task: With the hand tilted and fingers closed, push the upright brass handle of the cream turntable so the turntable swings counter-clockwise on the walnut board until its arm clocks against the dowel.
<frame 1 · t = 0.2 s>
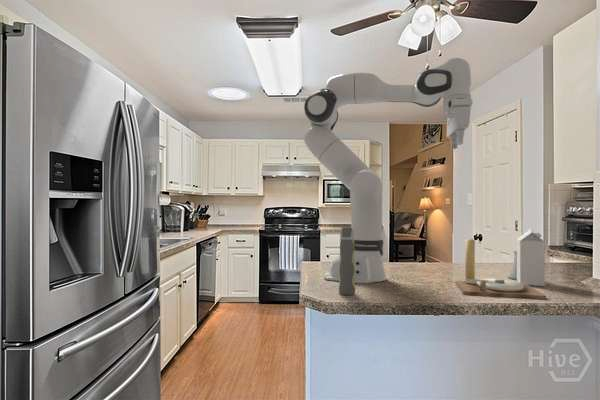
hand: (456, 146, 129), 47 cm above the countertop, tool pointing down, fingers open, 8 cm apart
flask: (518, 279, 137), on the countertop
base board: (496, 290, 117), on the countertop
grey upright post: (346, 294, 112), on the countertop
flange: (493, 263, 119), point 8 cm above the countertop, hinge at -30.0°
milk carton: (530, 284, 128), on the countertop
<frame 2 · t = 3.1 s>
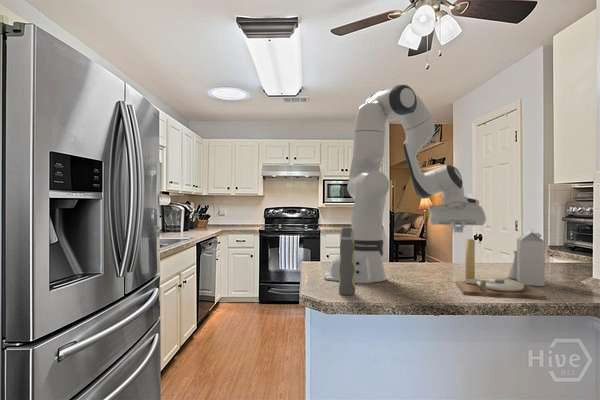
hand: (458, 231, 142), 17 cm above the countertop, tool tilted 45°, fingers closed
nothing on the countertop moved.
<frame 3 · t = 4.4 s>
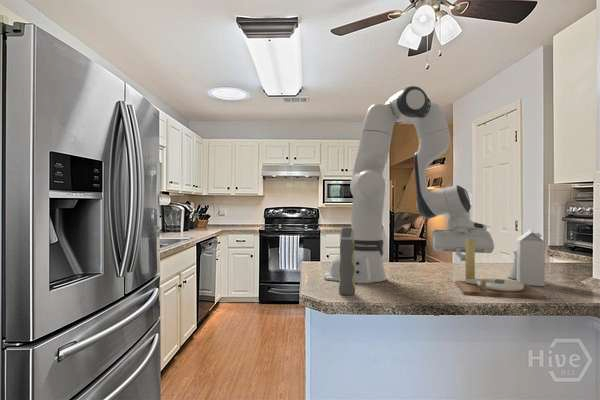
hand: (465, 260, 130), 8 cm above the countertop, tool tilted 45°, fingers closed
nothing on the countertop moved.
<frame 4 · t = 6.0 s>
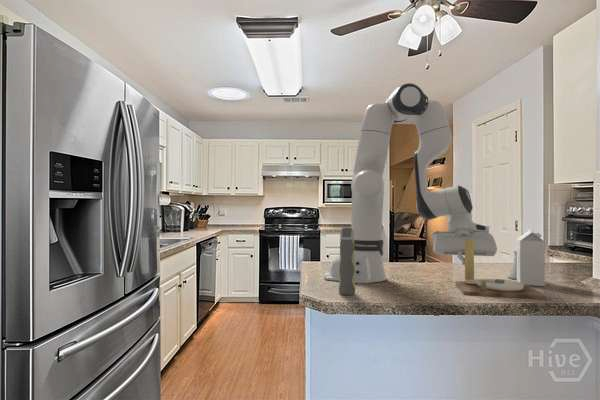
hand: (466, 263, 125), 7 cm above the countertop, tool tilted 45°, fingers closed, pressing on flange
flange: (492, 263, 119), point 8 cm above the countertop, hinge at -25.2°, touching gripper
everything else where it was.
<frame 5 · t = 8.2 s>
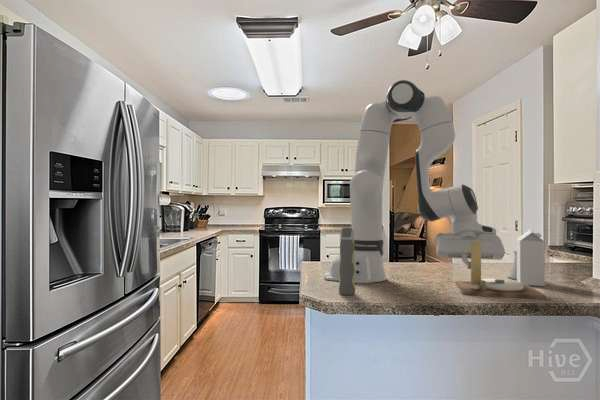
hand: (472, 268, 117), 7 cm above the countertop, tool tilted 45°, fingers closed
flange: (494, 264, 117), point 8 cm above the countertop, hinge at 30.4°, touching gripper
everything else where it was.
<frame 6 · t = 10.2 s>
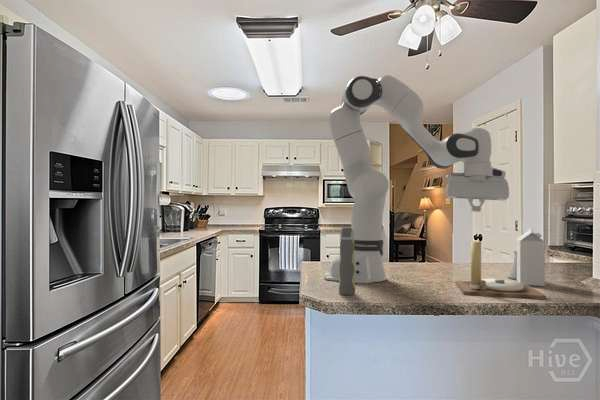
hand: (475, 211, 132), 25 cm above the countertop, tool pointing down, fingers closed
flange: (494, 264, 117), point 8 cm above the countertop, hinge at 30.6°
everything else where it was.
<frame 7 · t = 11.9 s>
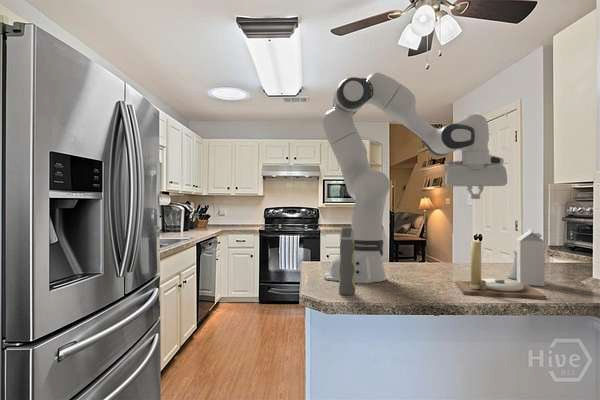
hand: (475, 199, 134), 29 cm above the countertop, tool pointing down, fingers closed
nothing on the countertop moved.
at the end: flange at +31° (first picture: -30°) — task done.
